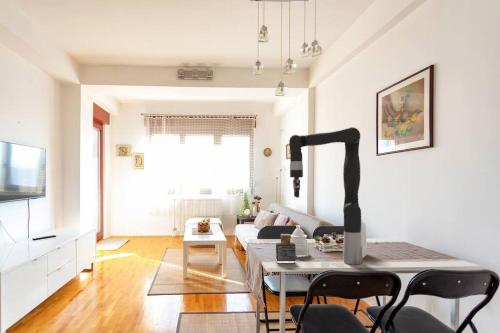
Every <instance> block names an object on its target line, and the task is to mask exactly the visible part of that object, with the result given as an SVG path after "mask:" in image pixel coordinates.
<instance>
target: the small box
mask: <svg viewBox="0 0 500 333" xmlns="http://www.w3.org/2000/svg"><path fill="white" fill-rule="evenodd" d="M295 246H296V245H295V244H294V243H290V244H281V242H276V243H275V260H276V259H277V261H296V262H297V257H296V248H295Z"/></svg>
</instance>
